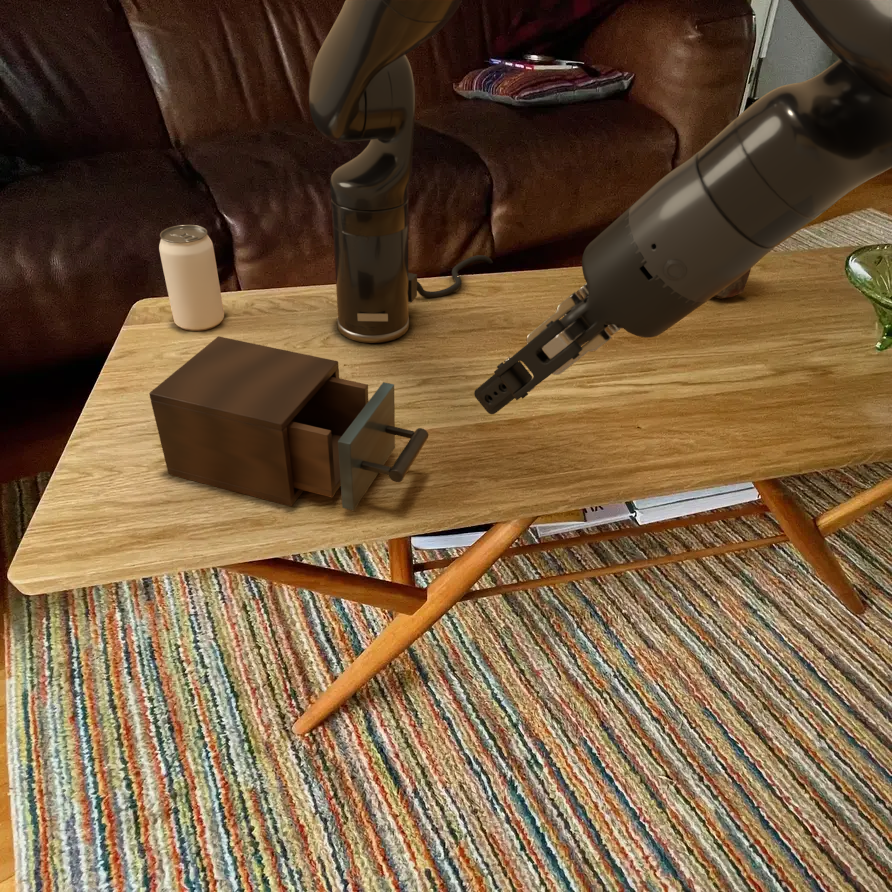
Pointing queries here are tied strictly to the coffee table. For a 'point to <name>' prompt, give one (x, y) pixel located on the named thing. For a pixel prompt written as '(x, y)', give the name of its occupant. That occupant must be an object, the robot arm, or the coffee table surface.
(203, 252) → the can
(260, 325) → the coffee table surface
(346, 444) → the drawer
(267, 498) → the cabinet
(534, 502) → the coffee table surface
